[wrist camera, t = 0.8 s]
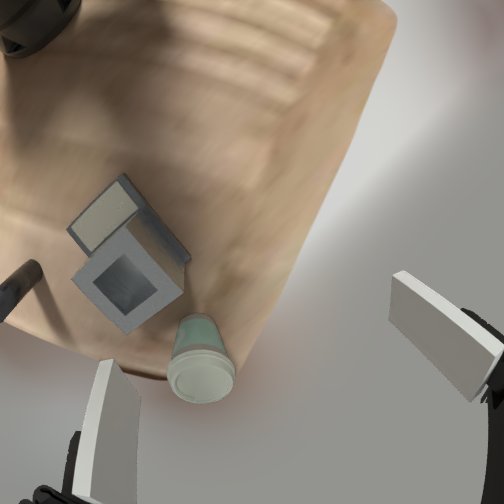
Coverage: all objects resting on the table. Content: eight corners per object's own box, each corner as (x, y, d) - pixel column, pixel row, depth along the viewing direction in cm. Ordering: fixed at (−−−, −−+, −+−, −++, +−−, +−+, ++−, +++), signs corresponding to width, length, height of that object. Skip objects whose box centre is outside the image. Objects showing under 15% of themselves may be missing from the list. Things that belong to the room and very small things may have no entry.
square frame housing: (69, 227, 30) (37, 250, 22) (124, 172, 30) (101, 179, 22) (133, 299, 36) (121, 339, 28) (191, 255, 36) (191, 287, 27)
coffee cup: (176, 298, 37) (172, 354, 26) (232, 311, 40) (247, 366, 29) (165, 343, 40) (161, 400, 29) (216, 353, 42) (226, 409, 31)
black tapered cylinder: (22, 268, 30) (-18, 306, 19) (32, 254, 30) (-11, 291, 19) (36, 285, 32) (-1, 327, 21) (46, 272, 31) (7, 314, 20)
